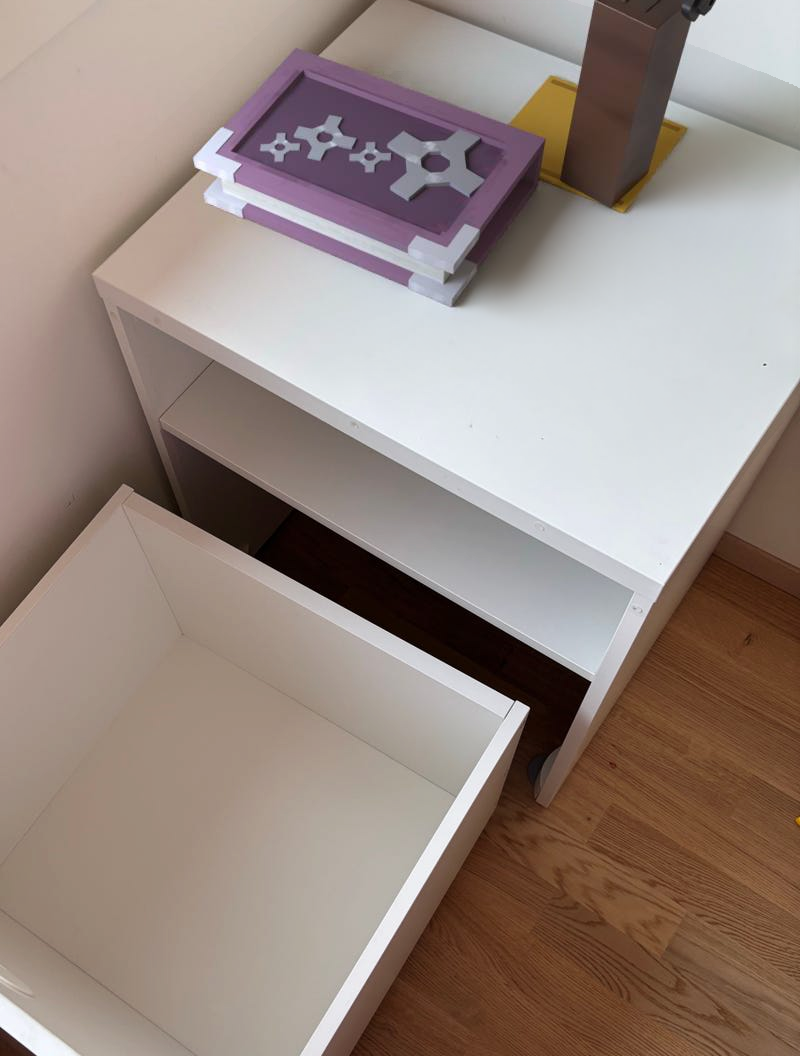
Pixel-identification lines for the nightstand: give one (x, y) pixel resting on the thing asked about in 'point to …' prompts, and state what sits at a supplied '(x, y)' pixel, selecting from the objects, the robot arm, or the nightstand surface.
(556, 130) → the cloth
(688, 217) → the nightstand surface
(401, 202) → the book
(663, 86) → the knife block
